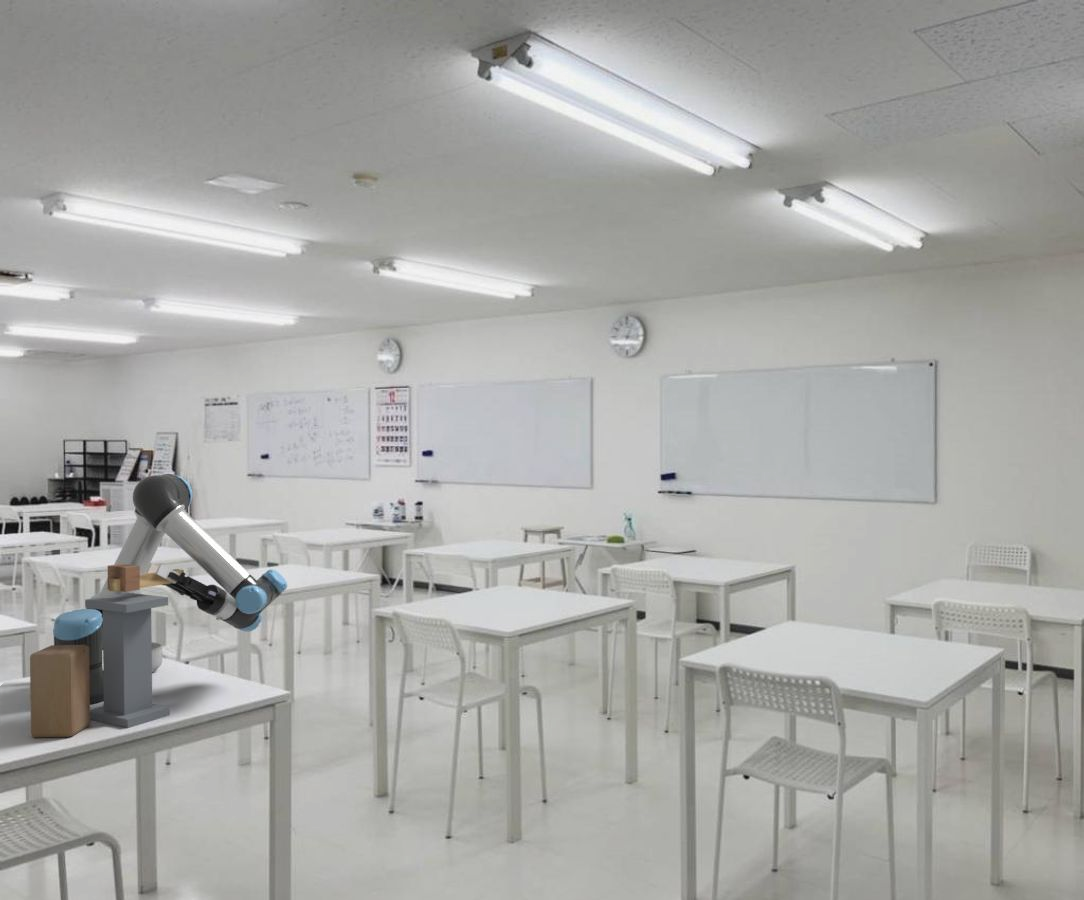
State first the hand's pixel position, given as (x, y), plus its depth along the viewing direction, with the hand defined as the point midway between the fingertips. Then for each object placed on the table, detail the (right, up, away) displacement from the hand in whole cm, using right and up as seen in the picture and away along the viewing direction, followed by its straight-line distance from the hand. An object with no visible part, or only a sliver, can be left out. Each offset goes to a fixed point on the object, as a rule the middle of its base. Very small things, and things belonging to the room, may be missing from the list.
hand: (153, 568), depth 239 cm
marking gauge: (-1, -4, -2) cm, 5 cm away
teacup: (-21, -37, +40) cm, 58 cm away
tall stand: (-4, -37, -6) cm, 37 cm away
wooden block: (-15, -37, -18) cm, 44 cm away
